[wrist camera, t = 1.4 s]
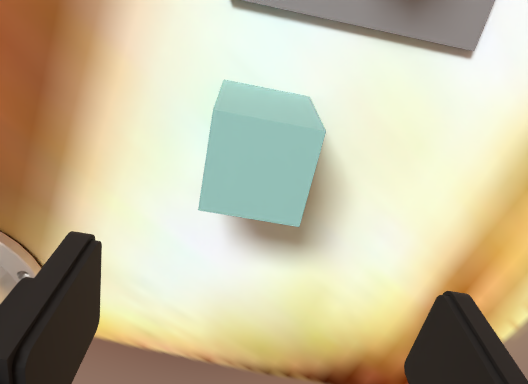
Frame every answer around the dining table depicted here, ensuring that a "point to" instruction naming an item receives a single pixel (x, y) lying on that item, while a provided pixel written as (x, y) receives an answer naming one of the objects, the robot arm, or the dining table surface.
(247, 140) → the teal rectangular block
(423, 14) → the grey plate with knob
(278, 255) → the dining table surface
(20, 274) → the robot arm
